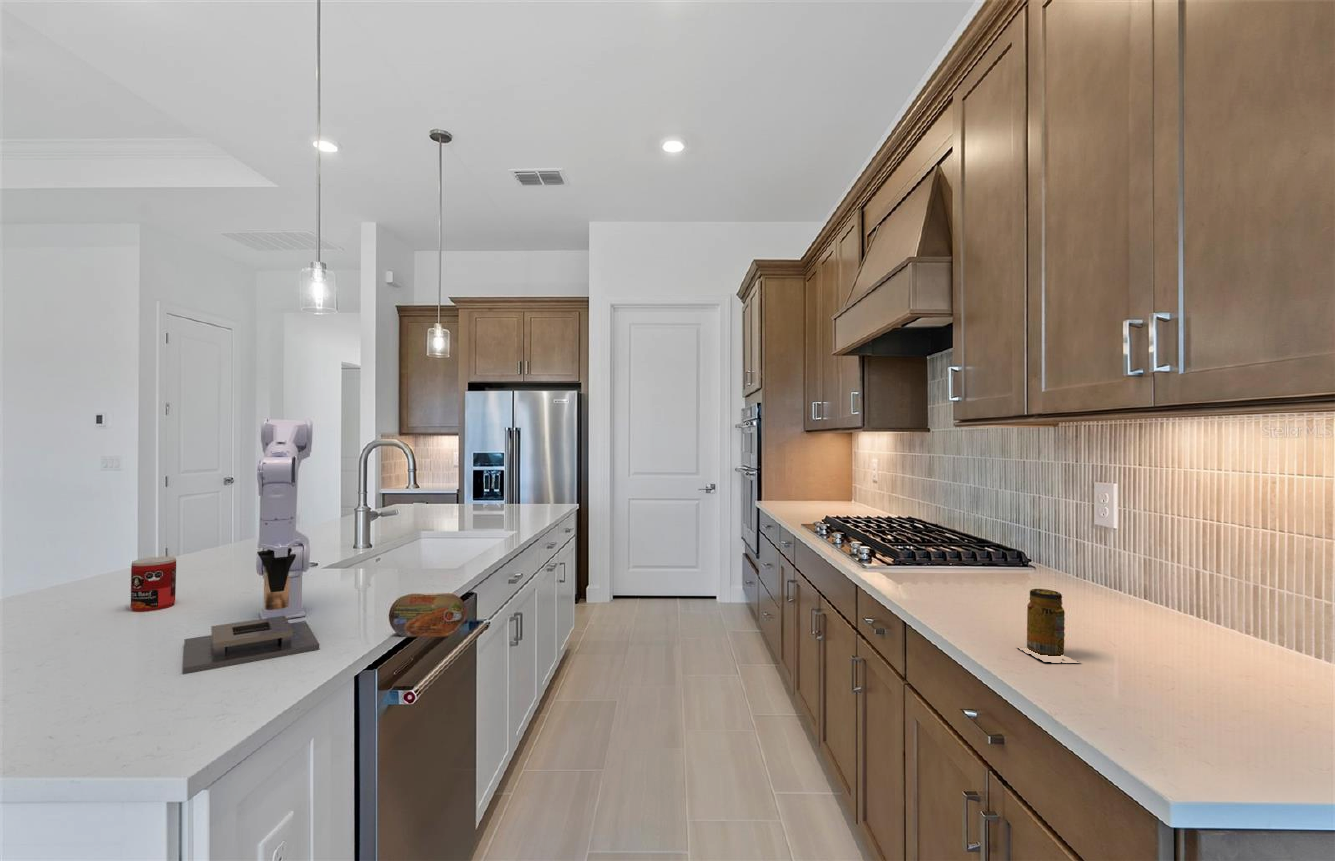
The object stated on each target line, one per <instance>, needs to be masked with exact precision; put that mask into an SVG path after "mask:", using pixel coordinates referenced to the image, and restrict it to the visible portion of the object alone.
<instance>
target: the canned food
mask: <svg viewBox="0 0 1335 861" xmlns="http://www.w3.org/2000/svg"><path fill="white" fill-rule="evenodd" d="M130 568H131V570H130V572H131V573H130V608H131V611H132V612H138V613H139V612H142V613H143V612H152V611H154V612H155V611H158V610H163V609H167V608H170V607H173V606H174V605H175V602H176V591H177V590H176V586H177V582H176V581H177V557H175V556H153V557H147V558H139V559H136V560H133V561H132V562H131V567H130Z"/></svg>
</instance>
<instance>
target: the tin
mask: <svg viewBox="0 0 1335 861" xmlns="http://www.w3.org/2000/svg"><path fill="white" fill-rule="evenodd" d="M466 617H467V607H466V604H465V602H464V600H462V598H461V597H460V596H458V595H456V594H454V593H450V592H449V593H446V592H445V593H444V592H443V593H442V592H441V593H439V592H438V593H409V594H406V595H403V596H400V597H398V598H397V599H396V600H395V601H394V602H393V603H392V604H391V606H390V609H389V612H388V620H389V625H390V627H391V629H392V630H393V632H395V633H396V634H398V635H399V636H401V637H403V638H419V637H420V638H434V637H435V638H444V637H450V636H452V635H454V634H455V633H457V631H459V629H461V627H463V625H464V623H465V622H466V619H467V618H466Z"/></svg>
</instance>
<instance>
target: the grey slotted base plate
mask: <svg viewBox="0 0 1335 861" xmlns="http://www.w3.org/2000/svg"><path fill="white" fill-rule="evenodd" d="M210 629H211V630H210V632H211V633H210V634H211V635H204V636H197V637H196V636H195V637H190V638H185V639H184V641H183V643H184V646H183V665H182V674H183V675H185V674H190V673H195V672H201V671H207V670H213V669H219V668H224V667H229V666H234V665H240V664H246V663H252V662H256V661H262V660H269V659H275V658H279V657H280V658H281V657H283V656H284V657H285V656H289V655H290V656H291V655H295V654H301V653H307V652H312V651H319V650H320V643H319V641H318V639H317V638H316V636H315V634H314V633H313V631H312V629H311V628H310V626H309V624H308V623H307V621H306V620H302V621H295V622H289V621H288V619H287V618H286V616H278V617H271V618H265V619H261V618H258V619H252V620H245V621H239V622H231V623H224V624H218V625H211V627H210Z"/></svg>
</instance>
